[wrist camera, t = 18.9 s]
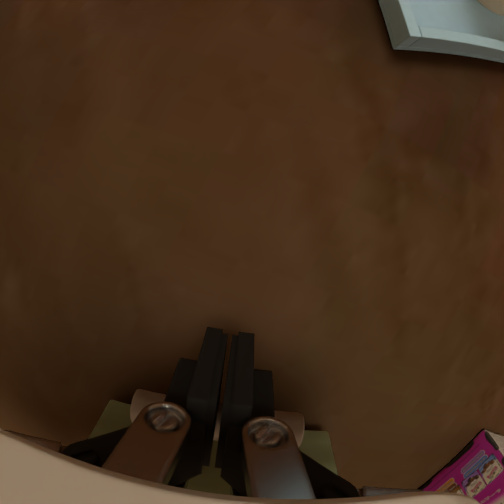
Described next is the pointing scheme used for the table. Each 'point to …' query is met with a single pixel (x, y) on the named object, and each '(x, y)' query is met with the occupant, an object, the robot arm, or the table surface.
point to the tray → (445, 27)
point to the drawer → (216, 438)
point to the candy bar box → (475, 471)
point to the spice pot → (494, 6)
